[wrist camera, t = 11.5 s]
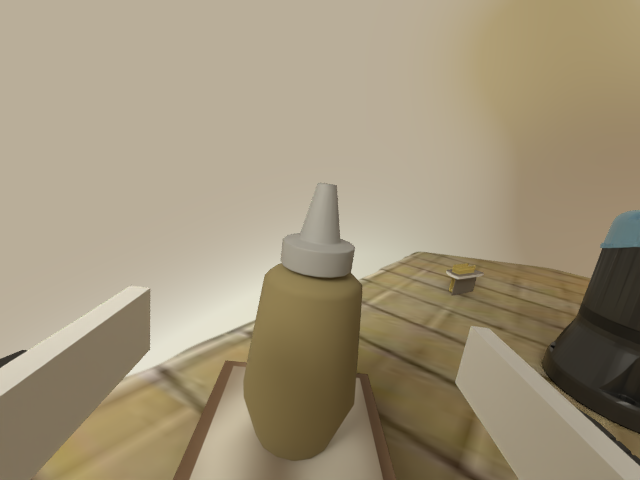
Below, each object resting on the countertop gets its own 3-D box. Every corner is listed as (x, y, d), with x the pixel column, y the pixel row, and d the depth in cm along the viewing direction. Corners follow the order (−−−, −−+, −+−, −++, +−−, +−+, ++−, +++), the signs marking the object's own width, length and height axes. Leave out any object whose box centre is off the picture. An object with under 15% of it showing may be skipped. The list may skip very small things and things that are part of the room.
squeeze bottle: (340, 390, 27) (375, 188, 22) (356, 483, 19) (415, 199, 15) (249, 384, 26) (268, 173, 22) (226, 478, 18) (249, 177, 14)
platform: (410, 286, 66) (416, 258, 65) (457, 279, 76) (463, 255, 74) (459, 311, 56) (467, 279, 55) (506, 299, 66) (514, 271, 65)
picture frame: (362, 399, 30) (367, 372, 30) (404, 588, 17) (416, 546, 16) (223, 386, 29) (225, 358, 29) (149, 574, 16) (149, 529, 15)
